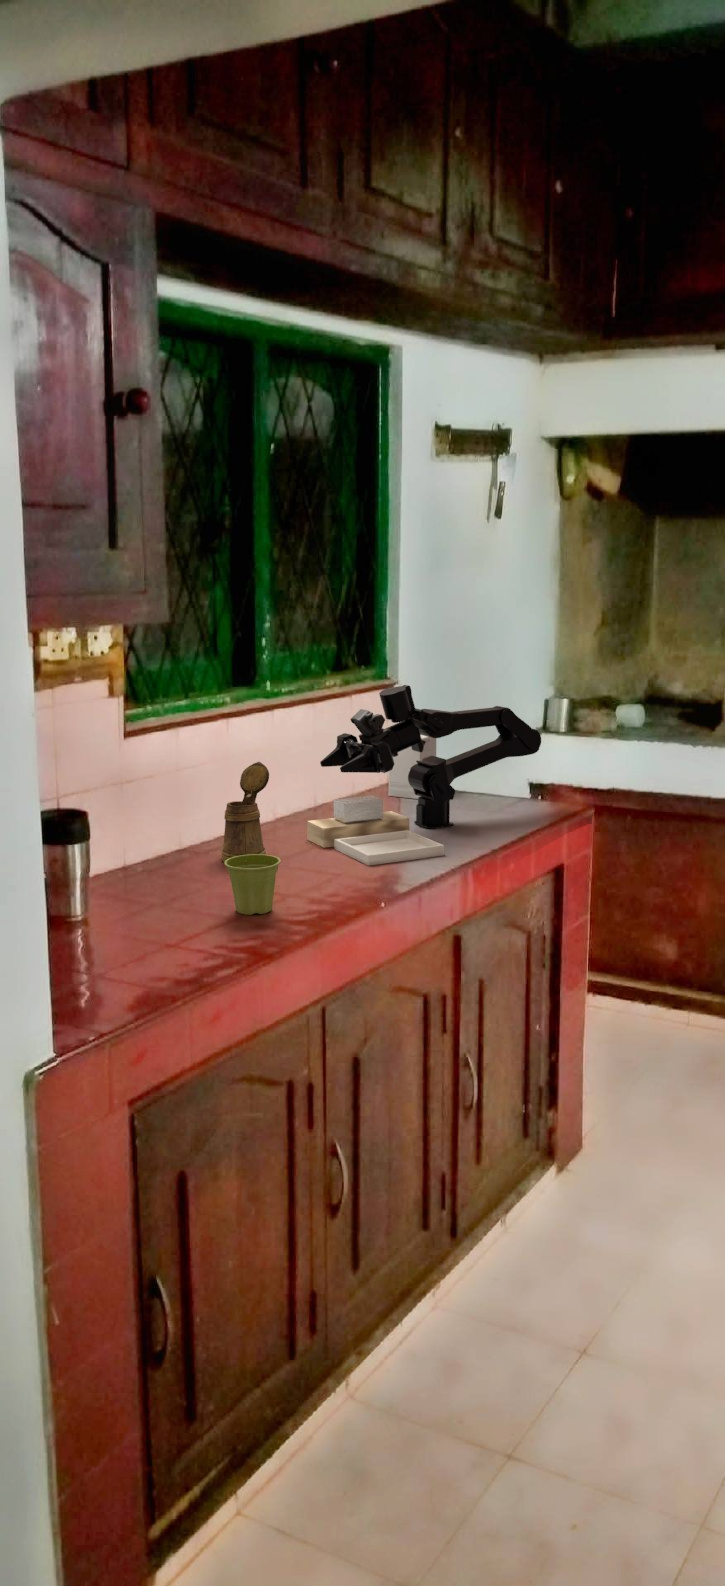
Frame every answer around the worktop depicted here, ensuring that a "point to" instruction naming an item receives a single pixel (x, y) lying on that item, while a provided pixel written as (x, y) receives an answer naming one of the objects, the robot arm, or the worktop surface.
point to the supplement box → (408, 768)
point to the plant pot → (253, 882)
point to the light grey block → (358, 808)
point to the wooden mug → (245, 816)
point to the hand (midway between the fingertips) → (330, 767)
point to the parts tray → (388, 847)
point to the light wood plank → (353, 828)
